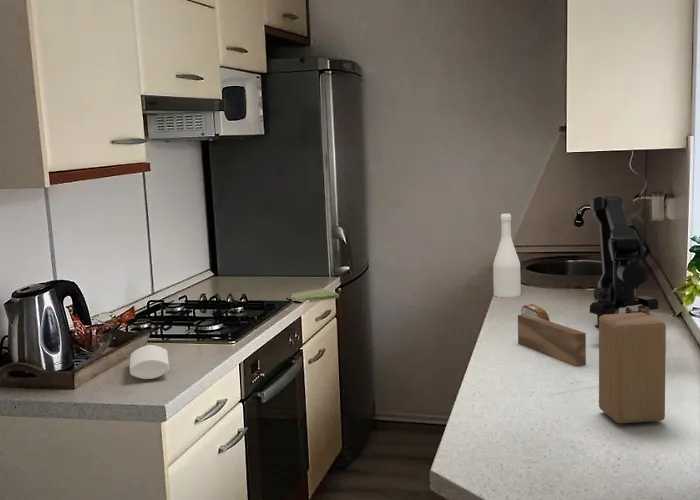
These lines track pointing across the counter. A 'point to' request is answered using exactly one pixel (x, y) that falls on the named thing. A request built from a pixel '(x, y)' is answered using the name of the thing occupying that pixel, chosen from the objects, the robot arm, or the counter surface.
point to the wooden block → (632, 367)
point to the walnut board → (552, 339)
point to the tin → (535, 311)
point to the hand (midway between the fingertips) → (624, 336)
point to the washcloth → (315, 295)
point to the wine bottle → (506, 264)
